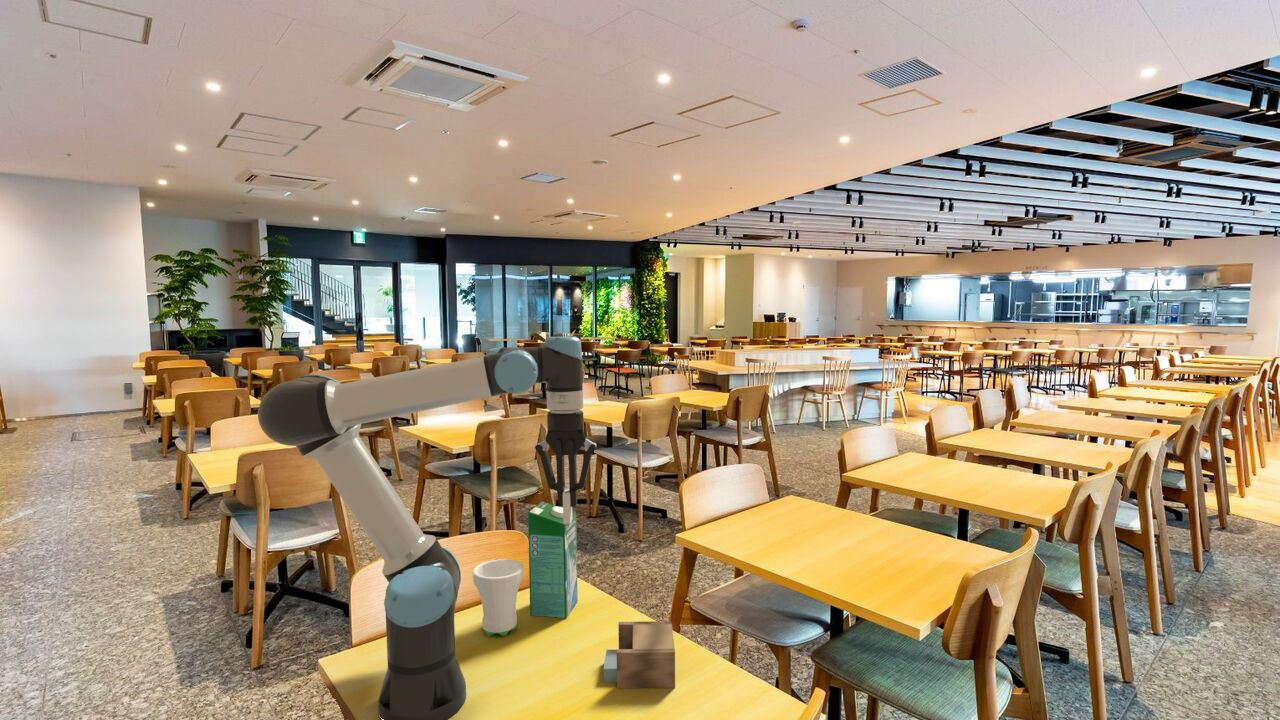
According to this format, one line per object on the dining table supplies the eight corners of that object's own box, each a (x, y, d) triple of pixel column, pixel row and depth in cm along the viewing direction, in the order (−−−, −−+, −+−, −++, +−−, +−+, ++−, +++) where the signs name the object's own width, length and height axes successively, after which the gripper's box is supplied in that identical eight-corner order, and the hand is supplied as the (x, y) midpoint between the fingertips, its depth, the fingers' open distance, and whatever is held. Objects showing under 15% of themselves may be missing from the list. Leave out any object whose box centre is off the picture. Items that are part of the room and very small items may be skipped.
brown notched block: (617, 688, 118) (616, 652, 117) (619, 654, 130) (618, 621, 129) (675, 687, 118) (674, 652, 118) (671, 653, 130) (671, 621, 130)
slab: (603, 683, 120) (603, 668, 120) (606, 663, 127) (606, 649, 127) (660, 683, 120) (660, 668, 120) (660, 663, 127) (660, 649, 127)
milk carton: (566, 618, 146) (564, 514, 144) (529, 615, 147) (527, 511, 146) (577, 601, 154) (576, 502, 153) (543, 598, 156) (541, 500, 155)
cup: (535, 625, 143) (534, 564, 142) (501, 647, 133) (499, 582, 132) (498, 613, 148) (497, 555, 148) (463, 633, 139) (461, 571, 138)
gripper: (530, 413, 126) (533, 527, 128) (594, 413, 126) (596, 527, 127) (538, 408, 134) (541, 515, 135) (598, 407, 133) (600, 515, 135)
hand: (568, 521), depth 131 cm, fingers closed
